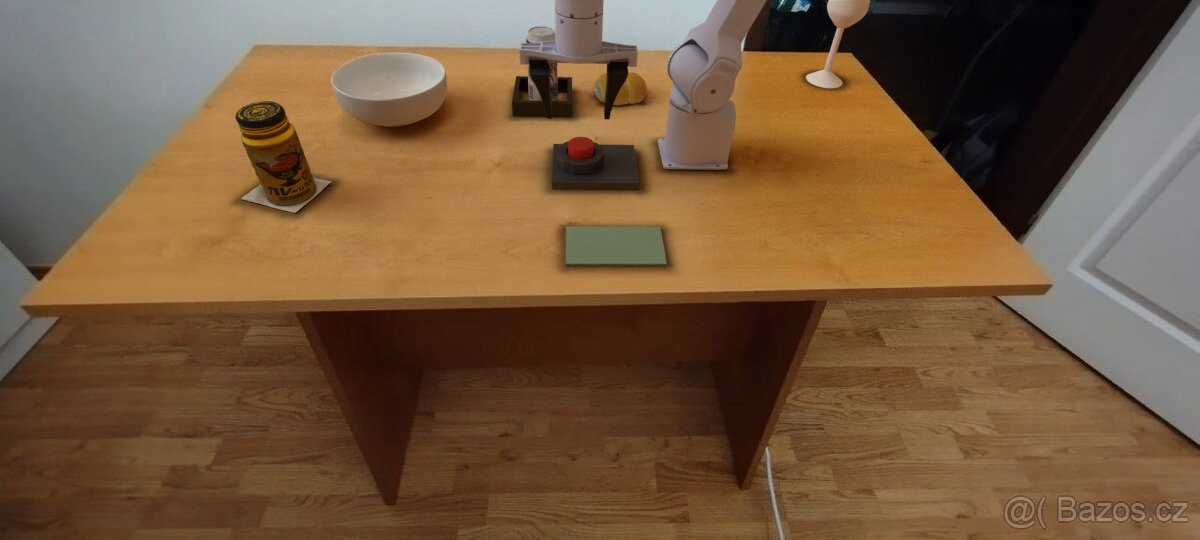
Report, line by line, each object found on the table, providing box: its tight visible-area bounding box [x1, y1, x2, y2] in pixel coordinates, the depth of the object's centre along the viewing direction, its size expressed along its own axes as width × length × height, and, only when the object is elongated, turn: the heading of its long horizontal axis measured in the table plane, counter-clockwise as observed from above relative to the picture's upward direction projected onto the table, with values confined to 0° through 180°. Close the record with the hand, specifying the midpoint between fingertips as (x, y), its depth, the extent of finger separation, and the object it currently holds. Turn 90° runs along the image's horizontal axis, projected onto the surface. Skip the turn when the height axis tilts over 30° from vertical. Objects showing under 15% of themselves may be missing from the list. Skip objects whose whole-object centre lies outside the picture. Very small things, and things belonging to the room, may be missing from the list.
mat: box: [565, 225, 668, 267], centre depth 71 cm, size 12×7×1 cm, turn 92°
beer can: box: [525, 26, 559, 101], centre depth 93 cm, size 5×5×12 cm
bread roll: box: [593, 71, 648, 106], centre depth 99 cm, size 8×9×4 cm
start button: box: [567, 136, 595, 160], centre depth 81 cm, size 4×4×2 cm
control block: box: [551, 140, 640, 191], centre depth 82 cm, size 12×10×3 cm
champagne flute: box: [805, 0, 871, 89], centre depth 100 cm, size 7×7×24 cm
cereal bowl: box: [330, 51, 448, 128], centre depth 90 cm, size 17×17×7 cm
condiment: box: [234, 100, 332, 213], centre depth 72 cm, size 7×8×12 cm
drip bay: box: [511, 75, 573, 118], centre depth 96 cm, size 10×10×2 cm
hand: (578, 115), depth 77 cm, fingers open, 7 cm apart
